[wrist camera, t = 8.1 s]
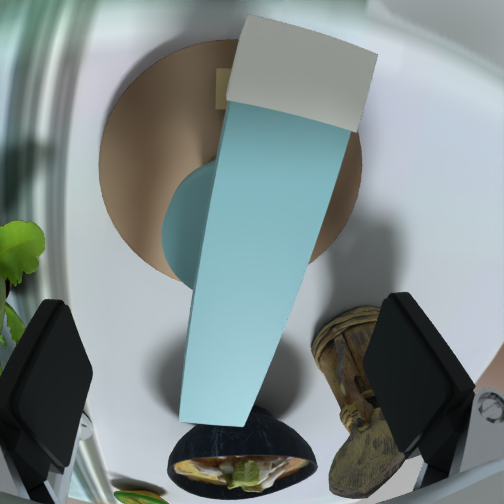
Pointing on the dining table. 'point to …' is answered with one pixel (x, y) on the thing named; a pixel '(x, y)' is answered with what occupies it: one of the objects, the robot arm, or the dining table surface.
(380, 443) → the wooden mug
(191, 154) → the base plate
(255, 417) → the bowl
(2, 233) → the potted flower
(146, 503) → the figurine
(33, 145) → the dining table surface
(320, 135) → the white-capped blue bar
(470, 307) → the dining table surface
